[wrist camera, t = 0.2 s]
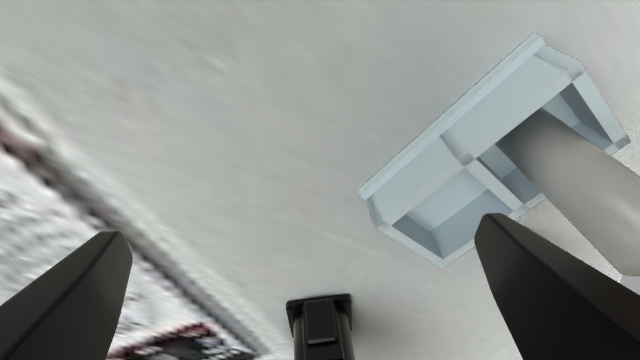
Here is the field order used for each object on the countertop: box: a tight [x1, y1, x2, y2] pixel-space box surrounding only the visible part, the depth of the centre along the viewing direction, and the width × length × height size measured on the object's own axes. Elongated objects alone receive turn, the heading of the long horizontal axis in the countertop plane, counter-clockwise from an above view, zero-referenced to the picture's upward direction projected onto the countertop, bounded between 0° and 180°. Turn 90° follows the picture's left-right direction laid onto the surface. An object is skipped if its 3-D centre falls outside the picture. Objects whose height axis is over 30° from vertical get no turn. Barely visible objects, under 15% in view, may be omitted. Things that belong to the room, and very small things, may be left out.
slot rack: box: [358, 33, 631, 269], centre depth 24 cm, size 15×9×4 cm, turn 139°
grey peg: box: [495, 107, 640, 276], centre depth 19 cm, size 4×4×11 cm
